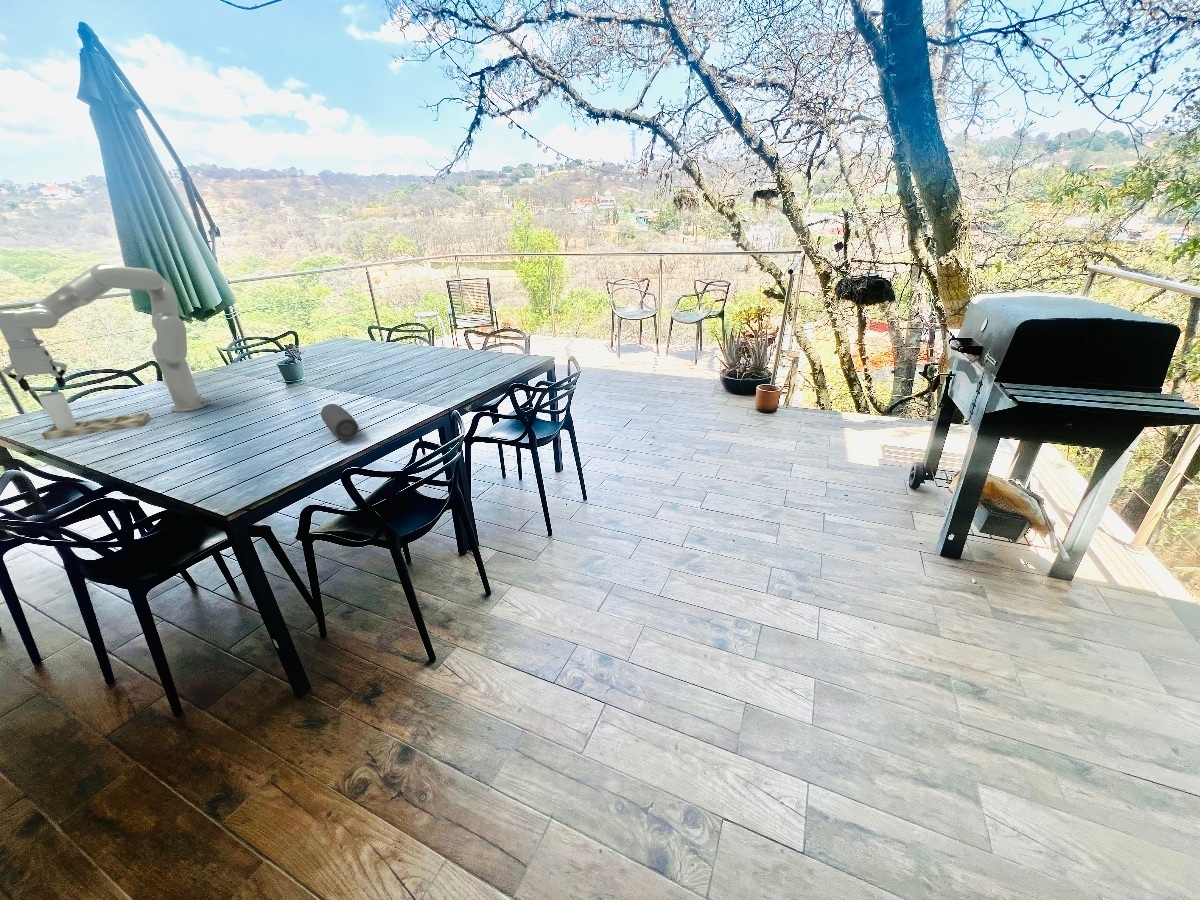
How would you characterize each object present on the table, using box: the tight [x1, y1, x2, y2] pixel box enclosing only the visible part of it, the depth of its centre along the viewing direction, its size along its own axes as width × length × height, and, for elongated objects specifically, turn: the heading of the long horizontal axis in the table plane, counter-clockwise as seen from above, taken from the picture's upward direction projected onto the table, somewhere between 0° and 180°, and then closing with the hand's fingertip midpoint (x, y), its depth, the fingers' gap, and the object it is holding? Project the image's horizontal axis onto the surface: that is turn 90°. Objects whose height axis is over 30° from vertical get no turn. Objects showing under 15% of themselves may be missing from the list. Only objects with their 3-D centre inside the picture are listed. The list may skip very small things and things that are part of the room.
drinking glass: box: [37, 391, 77, 431], centre depth 188 cm, size 7×7×15 cm
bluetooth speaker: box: [320, 403, 360, 440], centre depth 188 cm, size 23×9×10 cm, turn 40°
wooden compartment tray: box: [41, 412, 151, 440], centre depth 195 cm, size 30×11×2 cm, turn 119°
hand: (45, 388), depth 184 cm, fingers open, 9 cm apart
